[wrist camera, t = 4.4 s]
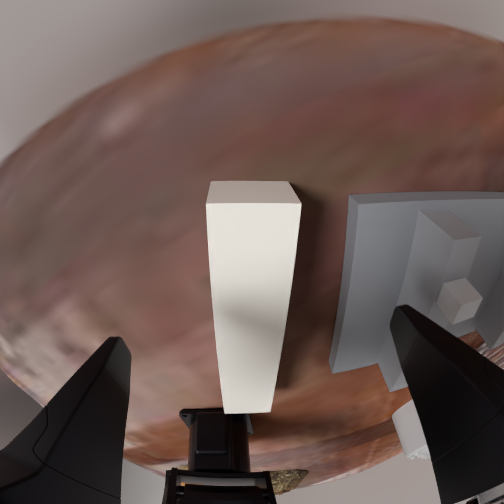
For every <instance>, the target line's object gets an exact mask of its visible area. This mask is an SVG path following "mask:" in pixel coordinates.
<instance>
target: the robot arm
mask: <svg viewBox="0 0 504 504" xmlns="http://www.w3.org/2000/svg"><path fill="white" fill-rule="evenodd" d="M390 331H391V335H392V338H393V341H394V345H395V348H396V352H397V356H398V359H399V363H400V366H401V369H402V372H403V375H404V377H405V380H406V383H407V385H408V388H409V391H410V394H411V396H412V399H413V402H414V405H415V408H416V411H417V414H418V417H419V420H420V423H421V426H422V429H423V433H424V436H425V439H426V443H427V446H428V450H429V453H430V457H431V461H432V465H433V469H434V473H435V477H436V482H437V486H438V491H439V495H440V500H441V504H454V503H457V502H460V501H463V500H466V499H468V498H471V497H473V496H475V497H473V498H472V499H470V500H469V501H467V503H466V504H504V370H503V369H501V368H500V367H499V366H497V365H496V364H494V363H493V362H491V361H490V360H489V359H487V358H486V357H484V356H483V355H481V354H480V353H479V352H477V351H476V350H474V349H473V348H472V347H470V346H469V345H467V344H466V343H464V342H463V341H462V340H460V339H459V338H457V337H456V336H454V335H453V334H451V333H450V332H448V331H447V330H446V329H444V328H443V327H441V326H440V325H438V324H437V323H435V322H434V321H432V320H431V319H429V318H428V317H426V316H425V315H423V314H422V313H420V312H419V311H417V310H416V309H414V308H413V307H411V306H409V305H408V304H403V305H398V306H396V307H395V309H394V312H393V315H392V318H391V321H390ZM130 374H131V353H130V351H129V349H128V347H127V346H126V344H125V342H124V341H123V339H122V338H121V337H109V338H108V339H107V340H106V341H105V342H104V343H103V344H102V345H101V346H100V347H99V348H98V349H97V350H96V351H95V352H94V353H93V354H92V355H91V357H90V358H89V359H88V360H87V361H86V362H85V363H84V364H83V365H82V366H81V367H80V368H79V369H78V370H77V372H76V373H75V374H74V375H73V376H72V377H71V378H70V379H69V380H68V381H67V382H66V383H65V385H64V386H63V387H62V388H61V389H60V390H59V391H58V392H57V393H56V395H55V396H54V397H53V398H52V399H51V400H50V401H49V402H48V404H47V405H46V406H45V407H44V408H43V409H42V410H41V412H40V413H39V414H38V415H37V416H36V417H35V418H34V419H33V420H32V421H31V423H30V424H28V426H26V427H25V428H24V429H23V430H22V431H21V432H20V433H19V434H18V435H17V436H16V437H15V438H14V439H13V440H12V441H11V442H10V443H9V444H8V445H7V446H6V447H5V448H3V449H2V450H0V504H121V499H120V497H121V474H122V460H123V448H124V437H125V428H126V420H127V412H128V404H129V395H130ZM179 416H180V417H181V418H182V420H183V421H184V422H185V424H186V425H187V426H188V428H189V429H190V437H189V461H188V470H182V469H178V468H172V470H166V481H165V489H164V495H163V501H162V504H277V503H276V499H275V494H274V490H273V485H272V481H271V476H270V472H269V471H263V472H251V471H250V458H249V444H248V435H251V434H253V433H254V431H253V426H252V423H251V419H250V415H249V413H237V414H224V409H219V410H181V411H180V412H179ZM181 483H191V484H185V486H181ZM196 484H204V485H196ZM212 485H230V486H212ZM243 485H255V486H243Z"/></svg>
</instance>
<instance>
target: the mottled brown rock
mask: <svg viewBox="0 0 504 504" xmlns="http://www.w3.org/2000/svg"><path fill="white" fill-rule="evenodd" d="M269 472H270V476H271V481H272V485H273V490H274V494H275V495H280V494H282V493H286V492H289V491H290V490H293V489H294V488H295V487H296V486H298V485H299V483H300V482H301V481H302V480H303V479H304V477H306V476H307V474H308V471H306V470H281V471H269ZM247 486H255V485H247Z"/></svg>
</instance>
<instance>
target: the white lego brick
mask: <svg viewBox="0 0 504 504" xmlns="http://www.w3.org/2000/svg"><path fill="white" fill-rule="evenodd" d="M392 419H393V422H394V425H395V428H396V431H397V434H398V436H399V439H400V442H401V445H402V448H403V451H404V454H405V457H406V458H407V459H415V457H418V458H420V459H430V458H431V457H430V453H429V450H428V446H427V443H426V439H425V436H424V433H423V429H422V426H421V423H420V420H419V417H418V414H417V411H416V408H415V405H414V402H413V399H412V400H410V401H409V402H408V403H406V404H405V405H403V406H402V407H401V408H399V409H398V410H397V411H396V412H395V413H394V414H393V415H392Z"/></svg>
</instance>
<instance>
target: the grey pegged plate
mask: <svg viewBox="0 0 504 504" xmlns="http://www.w3.org/2000/svg"><path fill="white" fill-rule="evenodd" d="M403 304H408V305H409V306H411V307H413V308H414V309H416V310H417V311H419V312H420V313H422V314H423V315H425V316H426V317H428V318H429V319H431V320H432V321H434V322H435V323H437V324H438V325H440V326H441V327H443V328H444V329H446V330H447V331H448V332H450V333H451V334H453V335H454V336H456V337H457V338H458V337H460V336H463V335H465V334H468V333H470V332H473V331H475V330H477V331H478V333H479V334H480V336H481V337H482V339H483V340H484V341H485V343H486V344H487V346H488V348H489V349H490V351H491V350H492V349H494V348H496V347H498V346H500V345H501V344H503V342H504V192H480V191H432V192H394V193H371V194H353V195H349V201H348V217H347V231H346V242H345V253H344V263H343V272H342V280H341V288H340V295H339V302H338V309H337V316H336V322H335V328H334V334H333V340H332V345H331V351H330V356H329V365H330V368H331V371H332V374H334V373H338V372H343V371H348V370H352V369H357V368H361V367H365V366H369V365H373V364H377V363H378V365H379V367H380V370H381V372H382V374H383V377H384V379H385V382H386V384H387V387H388V389H389V391H390V392H392V391H395V390H398V389H401V388H404V387H407V386H408V385H407V383H406V380H405V377H404V375H403V372H402V369H401V366H400V363H399V359H398V356H397V352H396V348H395V345H394V341H393V338H392V335H391V331H390V321H391V318H392V315H393V312H394V309H395V307H396V306H398V305H403Z"/></svg>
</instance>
